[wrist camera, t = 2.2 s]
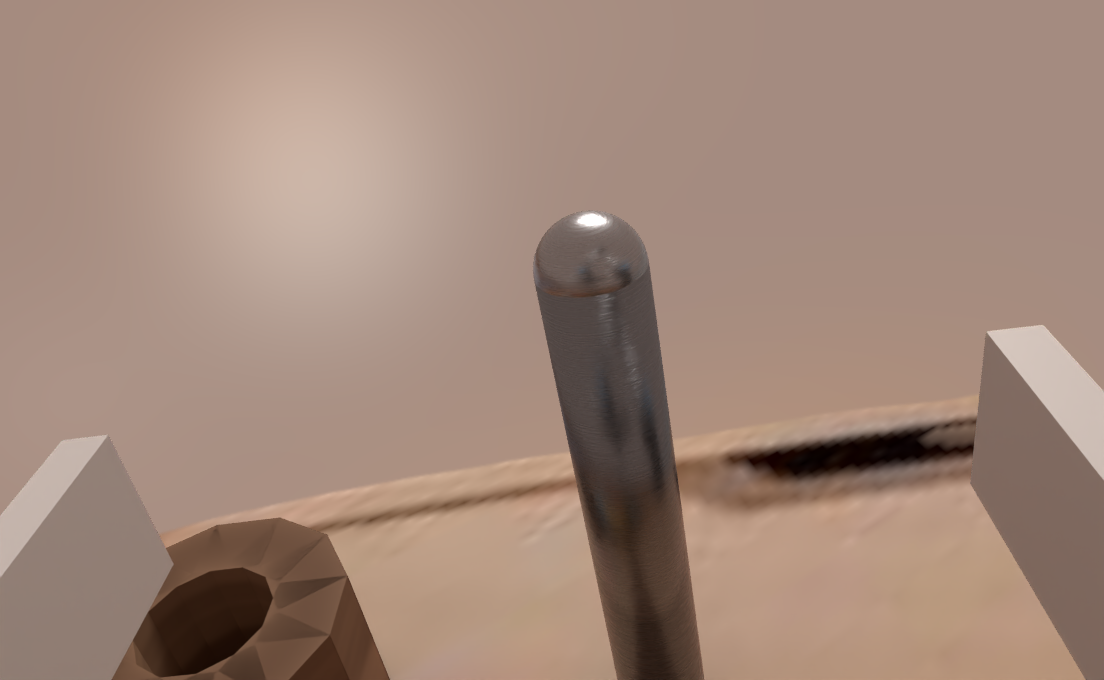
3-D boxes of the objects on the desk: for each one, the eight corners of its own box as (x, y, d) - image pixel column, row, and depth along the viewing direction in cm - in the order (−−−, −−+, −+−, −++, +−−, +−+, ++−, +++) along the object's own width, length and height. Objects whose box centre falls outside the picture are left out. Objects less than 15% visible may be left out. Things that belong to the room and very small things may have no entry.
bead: (408, 615, 37) (367, 506, 34) (359, 848, 29) (301, 732, 26) (189, 638, 38) (132, 535, 35) (83, 870, 30) (-5, 761, 27)
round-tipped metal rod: (700, 652, 33) (637, 184, 23) (710, 725, 30) (645, 231, 21) (619, 661, 33) (526, 202, 24) (623, 733, 31) (520, 250, 21)
